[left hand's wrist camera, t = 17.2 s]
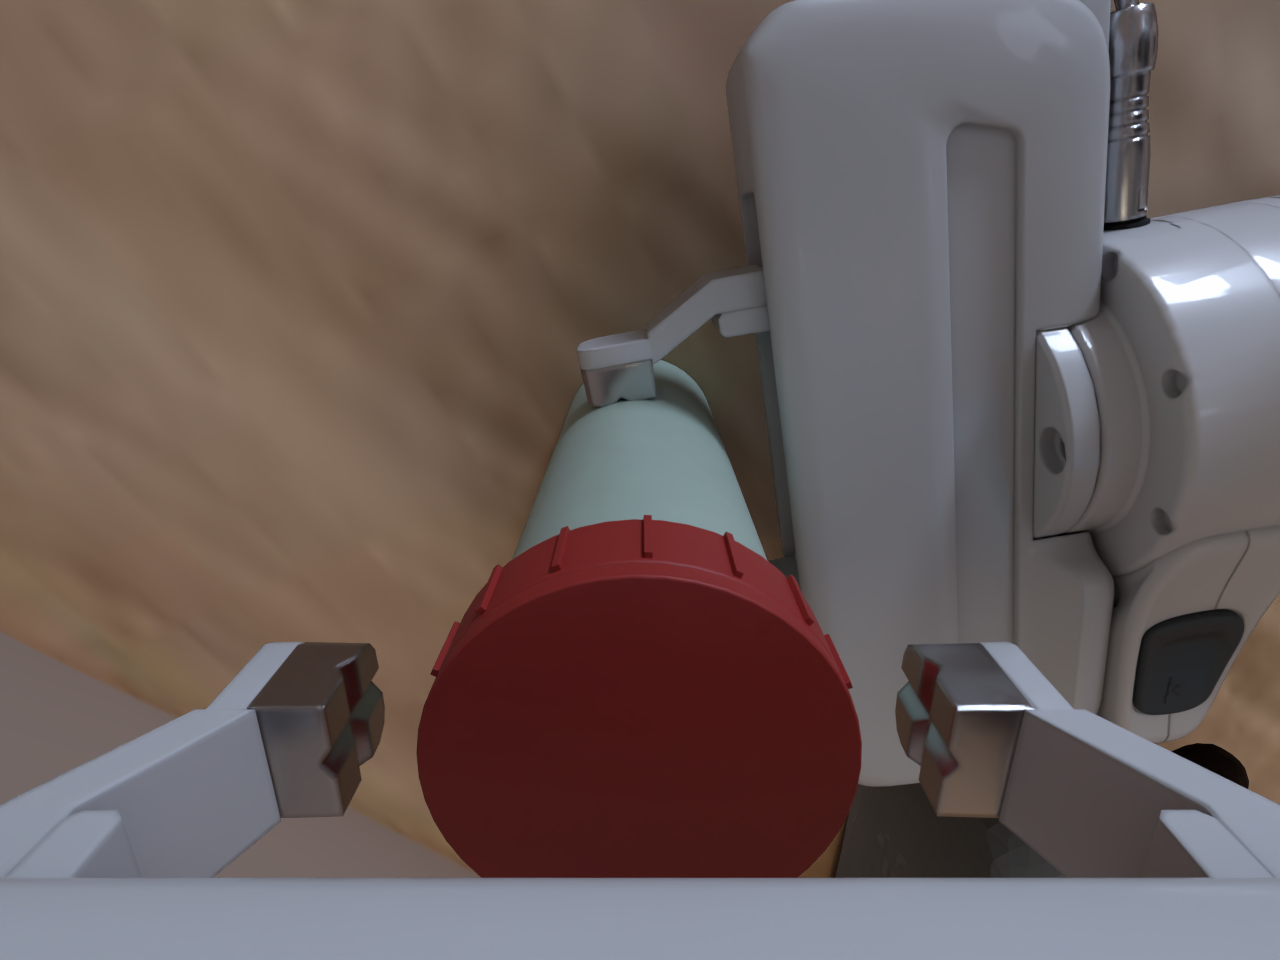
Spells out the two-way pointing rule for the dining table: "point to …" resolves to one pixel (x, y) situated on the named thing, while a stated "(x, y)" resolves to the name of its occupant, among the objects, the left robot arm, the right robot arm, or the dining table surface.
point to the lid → (639, 714)
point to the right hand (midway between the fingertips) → (607, 488)
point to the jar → (641, 466)
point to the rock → (958, 833)
